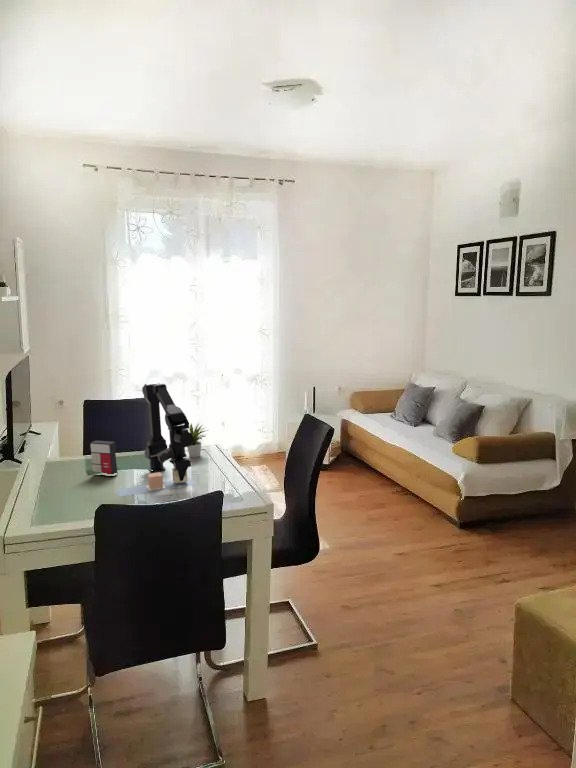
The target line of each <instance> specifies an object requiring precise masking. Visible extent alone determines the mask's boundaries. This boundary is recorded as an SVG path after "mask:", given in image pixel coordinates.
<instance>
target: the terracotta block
mask: <svg viewBox="0 0 576 768" xmlns="http://www.w3.org/2000/svg"><path fill="white" fill-rule="evenodd" d="M163 482H164V480H163V474H162V473H161V471H158V472H150V473H148V474H147V483H148V485H149V487H150V489H157V488H163Z"/></svg>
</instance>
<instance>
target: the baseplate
mask: <svg viewBox="0 0 576 768" xmlns="http://www.w3.org/2000/svg"><path fill="white" fill-rule="evenodd" d="M187 479H188V482H182V483H176V484H175V482H174V481H173V479H171V480H166V481H163V488H157V489H150V487H149V485H148V484H141V485H136V486H129V487H124V488H118V489H117V488H116V493H117V495H118V498H122V497H129V496H133V495H139V494H140V495H141V494H146V493H153V492H158V491H164V490H169V489H170V490H171V489H175V488H182V487H187V486H193V485H196V483H195V482H194V480H192V478H191V477H187Z"/></svg>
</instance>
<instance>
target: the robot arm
mask: <svg viewBox="0 0 576 768" xmlns="http://www.w3.org/2000/svg"><path fill="white" fill-rule="evenodd" d="M167 387H168V386H167V384H166V383H160V382H150V383H145V384H144V385H143V386H142V387H141V392H142V394H143V398H144V399H145V401H146V402H147V405H148V406H147V407H148V420H149V432H150V433H149V437H148V438H147V441H146V447H145V450H144V458H146V459H148V460H149V466H150V467H149V468H150V469H151V470H153V471H151V472H150V473H155V472H154V471H158V472H162V471H163V472H164V471H166V468H165V466H164V463H166V461H169V463H171V464H172V465H173V468H176V469H177V471H178V475H179V478H180V481H183V479H184V476H185V474H186V471H187V472H188V469H189V467H191V466H192V461H191V460H190V459H189V458H188V457H187V454H186V448H187V447H188V446H190V445H191V444H192V443H193V440H194V438H193V435H192V434H191V433H190V431H189V429H190V422H189V420H188V418H187V415H186V413H184V411H183V410H182V408H181V407H179V406H177V405H176V404H175V402H174V400H173V398H172V397H171V396H172V395H170V393H169V391H168V388H167ZM160 405H161V407H162V408H163V411H164V413H165V415H164V422H165V424H166V426H167V430H169V432H168V433H169V444H167V440H166V439H165V438H164V436H163V435H162V425H161V424H162V423H161V421H162V420H161V412H160V411H161V409H160V408H161V407H160ZM188 428H189V429H188Z"/></svg>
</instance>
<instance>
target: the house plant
mask: <svg viewBox="0 0 576 768" xmlns="http://www.w3.org/2000/svg"><path fill="white" fill-rule="evenodd" d="M203 425H204V424H202V425H200V426H199V423H197V425H196V426H195V428H194V427H193V424H192V423H189V428H187V429H188V431H189V433H191V434H192V435H193V438H194V440H193V443H192V444H191V445H190V446H188V447H186V448H187V452H188V455H189V458H192V457H193V458H194V457H195V458H199V457H200V456H201V451H202V442H200V440H201V441H203V438H205V437H206V438H208V437H207V434H203V433H205V432H207V431H210V430H209V429H208V430H206V428H207V426H206V427H203ZM204 429H205V430H204ZM202 434H203V435H202Z"/></svg>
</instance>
